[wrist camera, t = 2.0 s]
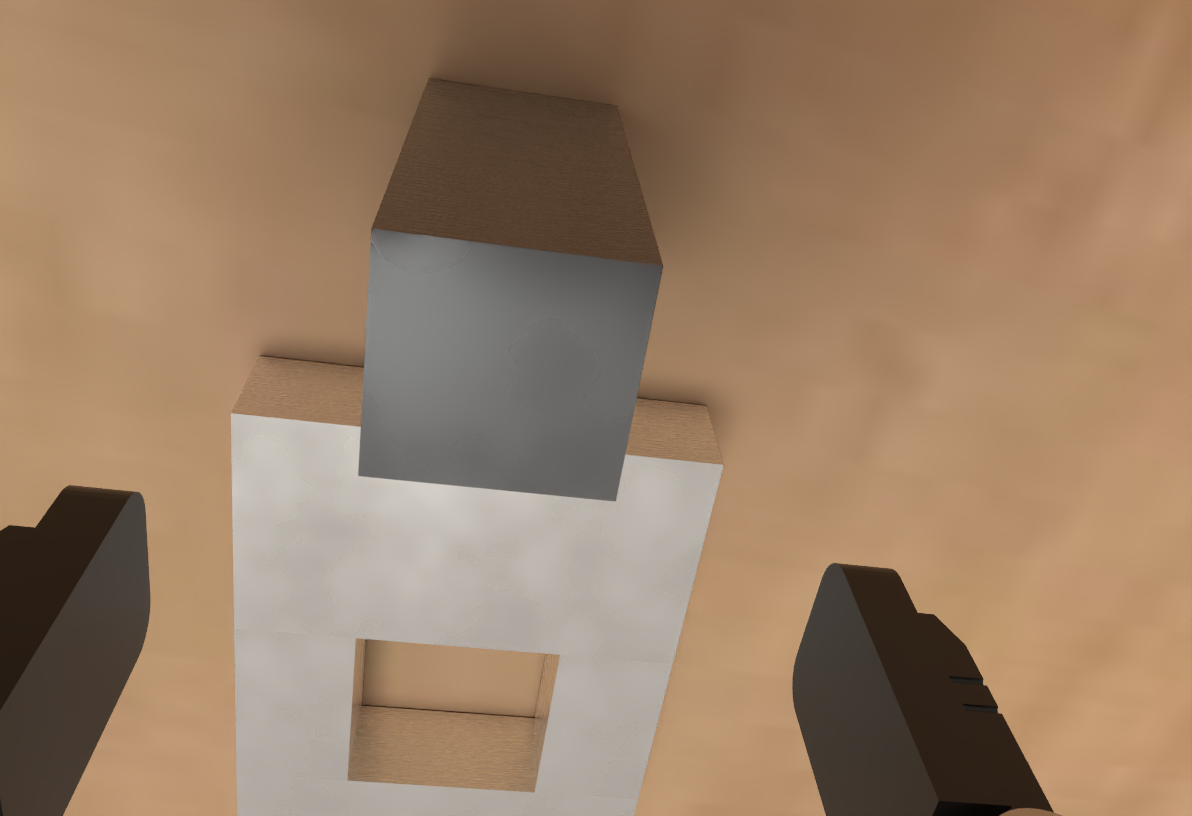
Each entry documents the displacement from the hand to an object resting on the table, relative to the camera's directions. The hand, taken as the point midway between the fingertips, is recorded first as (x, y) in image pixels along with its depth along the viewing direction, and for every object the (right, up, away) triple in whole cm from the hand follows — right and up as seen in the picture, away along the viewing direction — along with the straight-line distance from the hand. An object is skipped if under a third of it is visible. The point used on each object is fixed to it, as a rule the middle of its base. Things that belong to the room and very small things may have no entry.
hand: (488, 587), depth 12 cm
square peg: (-1, +8, +13) cm, 15 cm away
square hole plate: (-3, -4, +19) cm, 20 cm away
